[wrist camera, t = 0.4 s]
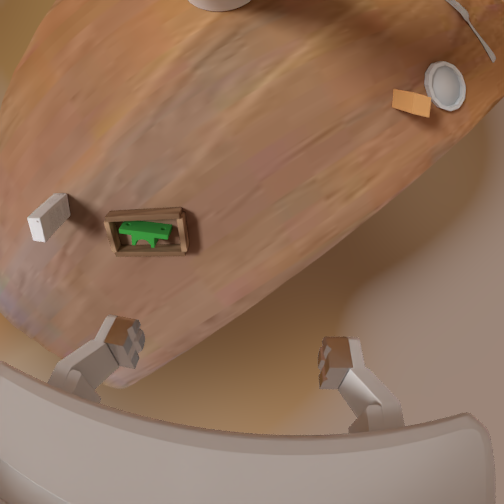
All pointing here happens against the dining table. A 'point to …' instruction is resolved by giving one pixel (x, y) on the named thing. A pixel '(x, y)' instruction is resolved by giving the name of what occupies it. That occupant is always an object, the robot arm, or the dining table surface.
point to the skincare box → (49, 217)
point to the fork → (466, 17)
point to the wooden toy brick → (411, 102)
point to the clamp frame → (147, 215)
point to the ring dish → (445, 85)
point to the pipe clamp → (146, 231)
